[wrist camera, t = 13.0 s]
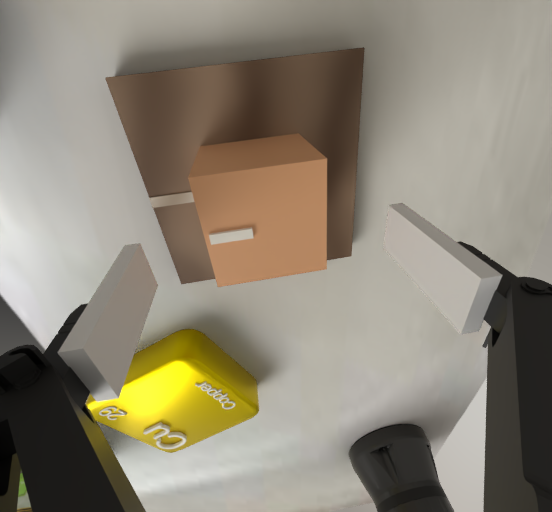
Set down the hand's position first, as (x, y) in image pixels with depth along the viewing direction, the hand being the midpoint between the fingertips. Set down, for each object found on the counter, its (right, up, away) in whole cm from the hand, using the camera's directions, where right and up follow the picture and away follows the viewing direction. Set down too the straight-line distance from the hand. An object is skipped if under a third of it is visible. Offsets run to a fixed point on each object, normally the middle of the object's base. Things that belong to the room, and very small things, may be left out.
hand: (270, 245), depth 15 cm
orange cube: (-1, +5, +7) cm, 8 cm away
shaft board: (-1, +6, +8) cm, 10 cm away
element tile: (-12, -16, +21) cm, 29 cm away
